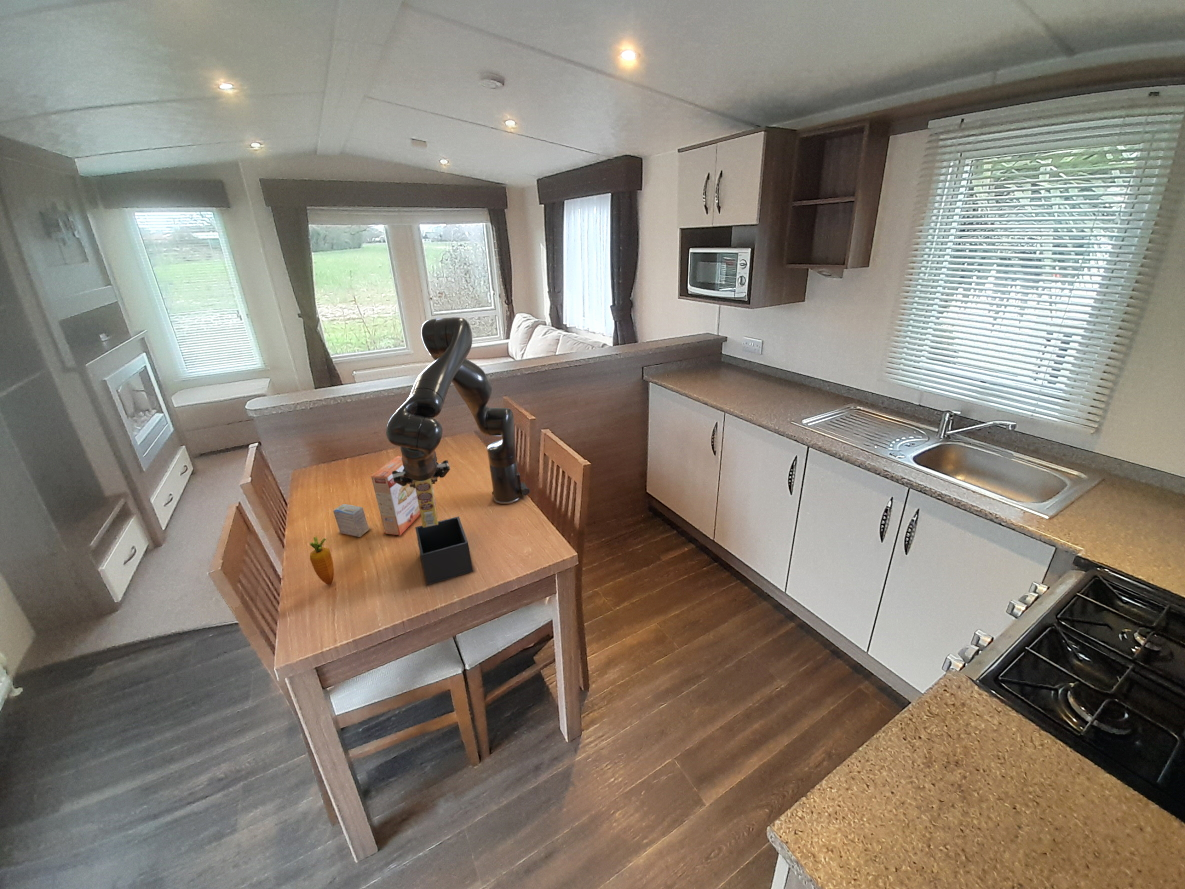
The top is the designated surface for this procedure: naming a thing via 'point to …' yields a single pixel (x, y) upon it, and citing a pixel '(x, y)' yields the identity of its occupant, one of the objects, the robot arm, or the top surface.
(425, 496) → the candy box
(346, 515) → the medicine box
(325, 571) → the carrot
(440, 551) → the waste bin
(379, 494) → the cracker box
